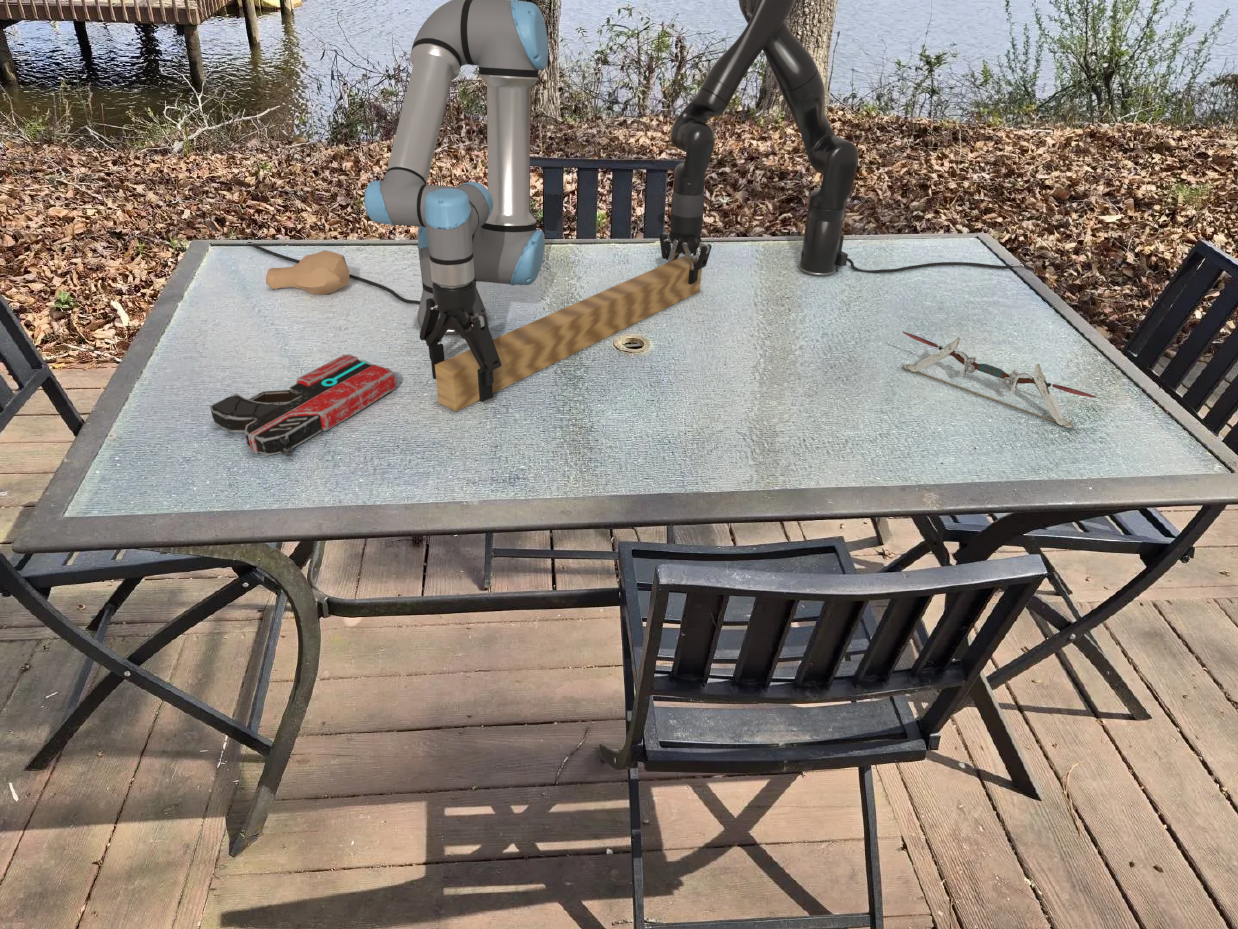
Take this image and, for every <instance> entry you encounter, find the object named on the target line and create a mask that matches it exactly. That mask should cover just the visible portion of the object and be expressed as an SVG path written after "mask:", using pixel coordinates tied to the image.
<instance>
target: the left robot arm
mask: <svg viewBox="0 0 1238 929" xmlns="http://www.w3.org/2000/svg"><path fill="white" fill-rule="evenodd" d="M548 58H549V42H548V32H547V26H546V23H545V19H544V16H543V13H542V11H541V9H540V8H539V6H538V5H537V4H535V3H533V2H531V1H523V0H449V1H447V2H445V3H444V4H442V5H441V6H440V7H438V8H437V9H435V10H434V11H433V12H432V13H431V14H430V15H429V16H428V17H427V19H426V20H425V21H424V22H423V24H422V25H421V27H420V28H419V29H418V32H417V34H416V36H415V38H414V39H413V43H412V46H411V49H410V54H409V59H410V63H411V65H412V68H411V72H410V76H409V81H408V85H407V88H406V93H405V97H404V99H403V100H404V101H403V104H402V109H401V111H400V116H399V121H398V124H397V128H396V131H395V136H394V140H393V142H392V148H391V152H390V156H389V160H388V163H387V167H386V171H385V174H384V178H383V180H382V179H378V180H371V181H370V182H369V184H368V185H366V188H365V192H364V209H365V212H366V214H367V216H368V217H369V219H370V220H371V221H372V222H374V223H376V224H383V225H387V226H388V225H389V226H393V227H395V226H405V227H406V226H407V227H418V229H417V250H418V251H417V252H418V258H419V259H418V260H419V267H420V275H421V276H420V278H421V284H422V292H421V297H420V300H413V299H408V298H405V297H403V296H401V295H399V293H396V291H394V290H393V289H392V288H390V287H387V286H385V285H383V284H380V283H378V282H375V281H372V280H369V279H366V278H363V277H360V276H357V275H354V274H350V273H349V279H353V280H356V281H360V282H362V283H364V284H365V283H366V284H369V285H371V286H374V287H376V288H380V289H381V290H384V291H386V292H388V293H390V294H391V295H392V296H394V297H395V299H398V300H399V301H400V302H403V303H406V304H413V305H418V310H417V317H416V318H417V325H418V326H419V328H420V331H419V339H420V341H424V342H425V344H426V346H427V347H428V355H429V361H430V363H431V364H430V366H431V374H432V379H433V380H436V372H435V365H436V364H438V363H440V362H442V361H445V360H446V359H445V349H444V348H445V347H444V344H443V343H442V342H443V341H444V340H443V338H444V336H460V337H461V339H462V340H463V339H464V340H465V342H466V344H467V346H468V348H469V350H471V351H472V353H473V355H474V357H475V359H476V361H477V363H478V365H479V366H480V369H478V370H477V371H478V385H479V399H480V400H479V402H480V403H484V402H486V401H488V400H490V399H493V398H494V393H493V387H492V384H493V383H494V377H493V370H495V369H497V368H499V367H501V365H502V364H501V361H500V358H499V356H498V353H497V350H496V347H495V345H494V342H493V339H494V338H493V336H492V333H491V331H490V328H489V322H488V316H487V310H486V306H485V304H484V302H483V299H482V298H481V295H480V293H479V291H478V288H477V282H479V283H480V282H481V283H493V284H502V285H510V286H530V285H532V284H533V283H535V281H536V280H537V278H538V277H539V274H540V271H541V268H542V264H543V262H544V255H545V249H546V248H545V247H546V240H545V239H546V238H545V237H546V236H545V233H544V231H543V230H541V229H537V219H536V218H535V217H534V216H533V214H532V213H531V212H530V184H531V183H530V178H531V172H530V171H531V170H530V168H531V91H532V90H531V89H532V87H533V86H534V85H535V84H536V82H538V80H539V71H542V70H544V69H546V68H547V65H548V60H549V59H548ZM467 65H470V66H478V77H479V78H480V79H481V80H482V81H483V83H484V84H485V86H486V131H487V132H486V134H487V136H486V138H487V141H486V142H487V144H486V146H487V147H486V148H487V150H486V151H487V187H486V186H484V185H483V184H481V183H480V182H477V181H467V182H465V183H461V184H460V185H459V186H450V185H437V184H428V179H429V176H430V171H431V167H432V163H433V159H434V156H435V151H436V148H437V143H438V138H439V136H440V131H441V127H442V123H443V119H444V115H445V110H446V107H447V102H448V99H449V96H450V95H449V94H450V90H451V88H452V82H453V81H454V80H456V79H457V78H458V77H459V75H460V72H461V68H462V67H464V66H467ZM248 243H253V242H252V241H250V242H248V241H247V244H248ZM250 246H251V247H253V248H255V249H257V250H259V251H262V252H264V253H267V254H269V255H271V256H273V257H278V258H280V259H283V260H286V261H289V262H293V263H296V264H298V263H299V262H300V260H301V259H296V258H293V257H290V256H286V255H283V254H280V253H277V252H274V251H272V250H270V249H267V248H265V247H262V246H260V245H258V244H255V243H254V244H253V245H250ZM484 362H485V363H484Z"/></svg>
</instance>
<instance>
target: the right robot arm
mask: <svg viewBox="0 0 1238 929" xmlns="http://www.w3.org/2000/svg"><path fill="white" fill-rule="evenodd" d="M794 4H795V0H738V5H739V9H740V12H741V14H742V16H743V18H744V20H745V21H746V23H747V25H746V26H745V28H744V30H743V31H742V33H741V34H740V36H738V38H737V39H736V40H735V41H734V43H732V45H730V47H729V48H728V49H727V50H726V51H725V52H724V53H723V54H722V55H721V56H720V57H719V58H718V59H717V60H716V62H715V63H713V66H712V67H711V68H710V70H709V71H708V74H707V75H706V77H705V78H704V81H703V83H702V85H701V86H700V88H699V90H698V91H697V94H696V95H695V97H694V98H692V100H691V101H689V103H688V104H687V106H686V107H685V108H684V109H683V110H682V111H681V113H679V114H678V116H677V118H676V119H675V120H674V122H673V125H672V126H671V129H670V141H671V144H672V145H673V146H674V147H675V148H676V149H677V150H679V151H682V152H684V153H685V159H684V161H683V162H681V163H679V164H677V165H676V167H675V169H674V174H673V187H672V188H673V190H672V196H671V203H670V219H669V221H670V222H669V229H670V232H669V231H665V232H662V233H659V236H658V237H659V244H660V245H659V246H660V253H661V258H662V259H663V260H666V261H667V263H669V262H671V261H673V260H675V259H678V258H680V254H682V255H683V256H685V255H686V259H687V261H688V262H689V267H690V270H689V280H688V284H691V285H692V284H694V283H695V282H696V281H697V280H698V270H699V269H701V268H702V269H704V268H706V267H707V264H708V261H709V258H710V254H711V251H712V249H713V248H712V244H711V243H708V244H706V243H704V242H703V241H702V236H701V234H702V231H703V223H704V209H705V182H706V174H707V170H708V167H709V164H710V163H711V162H710V161H711V159H712V155H713V152H714V148H715V135H714V134H715V133H714V131H713V128H712V127H711V126H710V125H709V124H707V122H708V121H709V120H710V119H711V118H717V117H721V116H722V115H723V114H724V112H726V110H727V108H728V106H729V104H730V102H731V100H732V98H733V97H734V95H735V93H736V91H737V89H738V87H739V86H740V84H741V83H742V81H743V79H744V78H745V76H746V73H747V72H748V71H749V70H750V68H751V67H752V65H753V64H754V62H755V61H756V60H757V58H758V57H759V55H760V54H761V53H762V52H763V53H764V56H765V59H766V61H767V63H768V65H769V68H770V69H771V72H772V74H773V76H774V78H775V81H776V83H777V86H778V88H779V91H780V93H781V95H782V97H783V99H784V101H785V104H786V105H787V107H788V109H789V111H790V115H791V116H792V118H793V121H794V123H795V125H796V127H797V129H798V131H799V133H800V137H801V140H802V142H803V146H804V150H805V152H806V155H807V159H808V161H809V163H810V166H811V167H812V169H814V171H815V172H817V173H819V174H820V175H823V176H822V181H821V186H820V187H819V188H814V189H813V190H811V191H810V194H809V198H808V205H807V212H806V219H805V227H804V234H803V240H802V241H803V242H802V245H801V246H802V247H801V250H800V260H799V264H798V269H799V271H801V273H804V274H806V275H810V276H816V277H827V276H831V275H834V274H836V272H838V271H839V270H840V267H846V266H847V263H849V265H850V268H851V269H852V270H854V271H855V272H859V273H860V272H861V273H867V274H868V273H869V274H881V273H897V272H902V271H906V270H913V269H920V268H926V267H937V266H972V267H981V268H990V269H999V270H1001V269H1002V270H1003V269H1005V270H1006V269H1012V268H1014V267H1013V266H1007V265H999V264H988V263H980V262H966V261H964V262H963V261H945V262H944V261H943V262H941V261H940V262H930V263H923V264H915V265H909V266H902V267H898V268H887V269H886V268H885V269H884V268H883V269H872V270H868V269H867V270H866V269H861V268H858V267H856V266H855V264H854V261H853V260H852V259H851V258H850V257H849V254H848V253H846V252H845V251H843V245H844V238H845V236H844V234H842V232H843V227H844V221H845V215H846V210H847V203H848V200H849V198H850V197H851V195H852V192H853V189H854V184H855V178H856V174H857V171H858V166H859V149H858V148H857V146H856V144H854V143H853V142H851V141H850V140H847V139H845V138H842V137H841V136H840V137H839V136H838V135H836V133H835V132H834V131H833V129H832V127H831V125H830V123H829V121H828V119H827V116H826V112H825V101H826V88H825V83H824V81H823V78H822V76H821V74H820V71H819V68H818V66H817V63H816V62H815V59H814V58H813V56H812V55H811V54H810V52H809V51H808V50H807V49H806V48H805V46H804V45H803V44H802V43H801V42H800V41H799V39H798V38H797V37H796V36H795V35H794V33H793V32H791V30H790V29H789V26H788V25H787V23H786V21H785V20H786V19H787V18H788V16H789V14H790V13H791V12H792V9H793V7H794ZM671 244H672V245H671ZM698 248H699V250H698ZM1020 264H1023V265H1024V267H1023V268H1025V269H1026V270H1028V271H1031V267H1029V265H1028V264H1026V263H1022V262H1021V263H1020Z"/></svg>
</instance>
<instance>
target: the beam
mask: <svg viewBox="0 0 1238 929" xmlns="http://www.w3.org/2000/svg"><path fill="white" fill-rule="evenodd" d="M702 269H703V268H701V269H699V270H698V280H697V281H696V282H695V283H694V284H692V285H691V284H688V280H689V270H690V267H689V262H688V261H687V259H686V255H683V256H681V257H680V256H679V257H678V259H675V260H673V261H671V262H669V263H668V262H666V263H664V264H662V265H659V266H658V267H657V266H656V267H655V268H653V269H650V270H648V271H646V272H643V273H641V274H639V275H636V276H634V277H631V278H630V279H628V280H625V281H623V282H620V283H619V284H616V285H613V286H612V287H609V288H607V289H605V290H603V291H600V292H598V293H596V294H593V295H591V296H589V297H586V298H584V299H581V300H579V301H578V302H575V303H572V304H570V305H568V306H566V307H564V308H562V309H561V308H560V309H559V310H557V311H555V312H552V313H550V314H548V315H546V316H542V317H541V318H539V319H536V320H533V321H531V322H529V323H527V324H525V325H523V326H520V327H518V328H516V329H513V330H511V331H510V332H507V333H504V334H502V335H500V336H497V337H495V338H492V339H493V342H494V345H495V347H496V350H497V353H498V356H499V358H500V361H501V364H502V365H501V367H499V368H497V369H495V370H493V377H494V383H493V384H492V387H493V394H495V393H497V392H499V391H502V390H503V389H505V388H507V387H509V386H511V385H513V384H515V383H517V382H520V381H521V380H523V379H525V378H528V377H529V376H531V375H534V374H535V373H537V372H539V371H542V370H543V369H546V368H548V367H550V366H552V365H554V364H556V363H558V362H560V361H562V360H564V359H567V358H569V357H570V356H572V355H574V354H576V353H578V352H580V351H583V350H584V349H586V348H588V347H590V346H593V345H594V344H597V343H598V342H601V341H602V340H604V339H606V338H609V337H611V336H613V335H614V334H617V333H619V332H621V331H623V330H625V329H627V328H629V327H631V326H633V325H635V324H637V323H639V322H641V321H643V320H645V319H648V318H650V317H651V316H653V315H655V314H658V313H659V312H661V311H664V310H665V309H667V308H670V307H672V306H673V305H676V304H678V303H680V302H682V301H684V300H686V299H688V298H690V297H692V296H694V295H696V294H699V293H700V292H701V280H702ZM484 363H485V362H484ZM478 369H480V366H479V365H478V363H477V361H476V359H475V357H474V355H473V353H472V351H471V350H470V349H468V350H465V351H463V352H461V353H458V354H456V355H454V356H452V357H450V358H447V359H445V361H442V362H440V363H438V364H436V365H435V372H436V381H435V382H436V391H437V400H438V404H440V405H442V406H444V407H446V408H448V409H450V410H452V411H454V412H458V411H460V410H463V409H464V408H466V407H469V406H470V405H473V404H475V403H477V402H480V399H479V385H478V371H477V370H478Z"/></svg>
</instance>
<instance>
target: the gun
mask: <svg viewBox="0 0 1238 929" xmlns="http://www.w3.org/2000/svg"><path fill="white" fill-rule="evenodd" d="M397 381H398V380H397V377H396V374H395V372H394V371H393V370H392V369H390V368H388V367H383V366H381V365H378V364H372V363H369V362H367V361H364V360H360V359H359V357H358V356H355V355H352V354H349V353H348V354H341V355H340V356H338V357H337V358H335V359H333V360H331V361H329V362H327V363H325V364H322V365H321V366H319V367H317V368H315V369H313V370H311V371H309V372H307V373H305V374H303V375H302V376H300V377H299V376H298V377H297V378H296V383H295V384H293V385H291V386H289V387H288V389H282V390H281V389H280V390H279V389H277V390H262V391H260V392H259V393H257V394H255V395H253V396H252V397H250V398H246V397H244V396H242V395H240V394H239V393H237V392H236V393H233V394H231V395H230V396H227V397H225V398H223V399H221V400H219V401H217V402H215V403H212V404H210V405H209V409H210V412H211V417H212V420H213V422H214V424H215V425H216V426H217V427H218V428H220V429H223V430H224V431H227V432H229V433H237V434H239V433H240V434H244V435H245V436H244V437H245V440H246V445H247V448H248V449H250V450H251V452H252V453H253V454H256V455H257V454H261V455H263V456H265V457H267V456H272V455H277V454H282V455H284V456H286V457H289V456H291V455H292V450H293V449H294V448H296V447H298V446H300V445H301V444H303V443H304V442H307V440H309V439H311V438H313V437H314V436H316V435H317V434H319V433H321V432H325V431H326V432H327V431H329V430H330V429H332V428H333V427H335V426H337V425H339V424H340V423H342V422H344V421H346V420H347V419H349V418H351V417H352V416H353V415H356V414H357V413H359V412H360V411H362V410H363V409H365V408H367V407H368V406H370V405H371V404H373V403H376V401H377V400H380V399H381V398H383V397H385V395H387V394H389V393H391V392H392V391H393V390H395V389H396V387H397Z"/></svg>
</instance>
